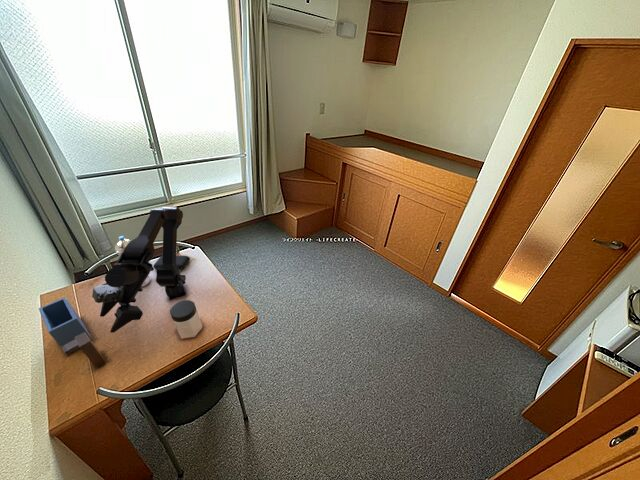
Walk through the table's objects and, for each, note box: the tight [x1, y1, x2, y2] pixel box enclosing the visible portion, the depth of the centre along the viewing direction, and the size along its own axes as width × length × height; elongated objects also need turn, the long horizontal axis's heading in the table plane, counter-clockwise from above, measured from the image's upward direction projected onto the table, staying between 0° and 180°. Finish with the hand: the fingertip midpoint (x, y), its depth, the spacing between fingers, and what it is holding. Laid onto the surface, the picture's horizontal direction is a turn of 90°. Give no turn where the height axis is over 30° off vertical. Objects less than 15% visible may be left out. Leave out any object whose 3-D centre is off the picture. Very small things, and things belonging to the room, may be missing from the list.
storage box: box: [38, 296, 94, 354], centre depth 88 cm, size 7×14×12 cm, turn 51°
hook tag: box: [61, 332, 107, 369], centre depth 80 cm, size 6×5×12 cm
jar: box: [169, 299, 203, 340], centre depth 93 cm, size 9×8×12 cm
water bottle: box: [114, 235, 151, 288], centre depth 108 cm, size 7×7×25 cm
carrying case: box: [152, 254, 191, 271], centre depth 125 cm, size 11×3×15 cm
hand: (106, 324), depth 82 cm, fingers open, 9 cm apart
